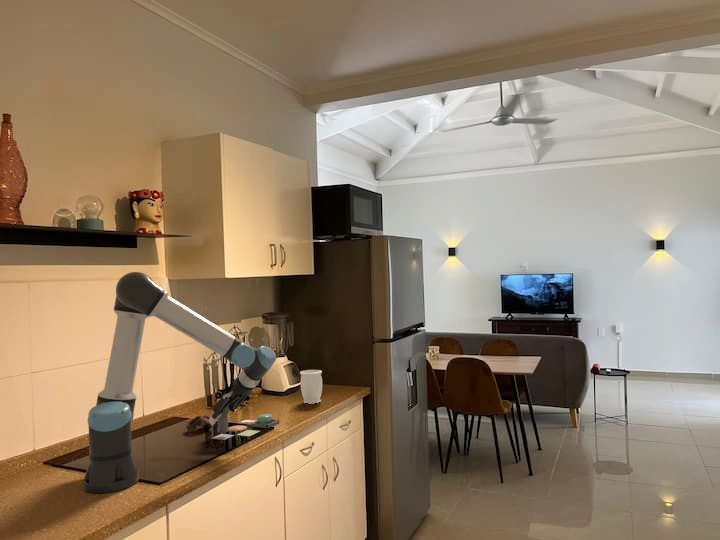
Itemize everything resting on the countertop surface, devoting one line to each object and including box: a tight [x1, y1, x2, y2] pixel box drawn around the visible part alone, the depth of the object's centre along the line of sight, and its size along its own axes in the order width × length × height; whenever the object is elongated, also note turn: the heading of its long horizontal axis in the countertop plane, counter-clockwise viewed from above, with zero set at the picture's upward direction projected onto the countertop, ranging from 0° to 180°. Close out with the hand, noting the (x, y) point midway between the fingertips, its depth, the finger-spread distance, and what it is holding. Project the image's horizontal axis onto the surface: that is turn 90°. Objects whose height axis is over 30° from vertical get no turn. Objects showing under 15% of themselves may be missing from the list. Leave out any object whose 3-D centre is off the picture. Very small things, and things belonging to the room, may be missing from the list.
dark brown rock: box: [185, 414, 214, 434], centre depth 212 cm, size 12×10×8 cm
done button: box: [256, 413, 274, 424], centre depth 216 cm, size 6×6×2 cm
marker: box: [216, 398, 229, 434], centre depth 201 cm, size 4×4×12 cm
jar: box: [299, 369, 323, 405], centre depth 258 cm, size 11×10×15 cm
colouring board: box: [211, 418, 280, 441], centre depth 209 cm, size 29×18×3 cm, turn 156°
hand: (215, 421), depth 203 cm, fingers closed on marker, 4 cm apart
